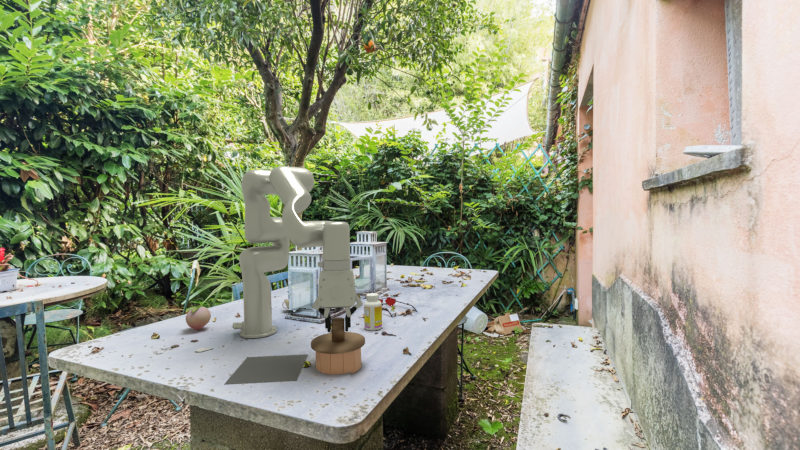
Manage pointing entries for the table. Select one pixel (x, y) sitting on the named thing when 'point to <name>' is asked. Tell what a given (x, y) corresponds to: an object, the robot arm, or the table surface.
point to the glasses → (392, 303)
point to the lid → (337, 339)
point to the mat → (268, 369)
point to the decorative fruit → (198, 317)
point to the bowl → (338, 362)
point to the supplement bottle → (372, 312)
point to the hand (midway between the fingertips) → (338, 329)
